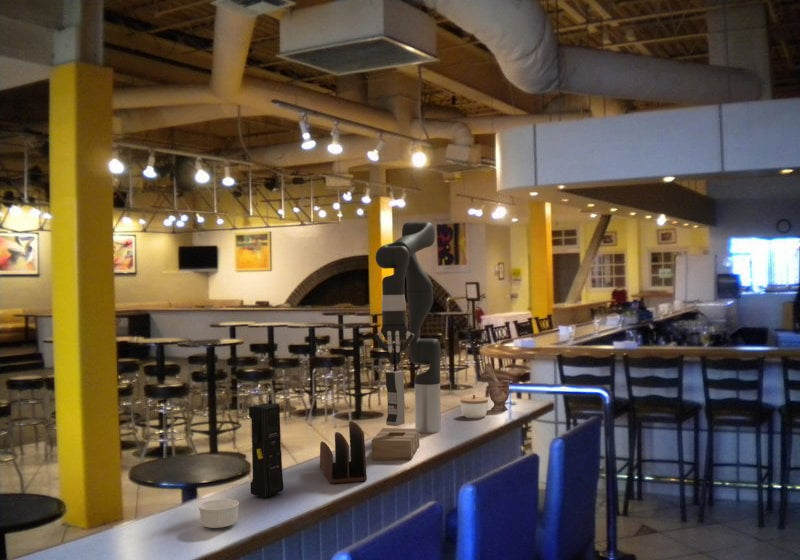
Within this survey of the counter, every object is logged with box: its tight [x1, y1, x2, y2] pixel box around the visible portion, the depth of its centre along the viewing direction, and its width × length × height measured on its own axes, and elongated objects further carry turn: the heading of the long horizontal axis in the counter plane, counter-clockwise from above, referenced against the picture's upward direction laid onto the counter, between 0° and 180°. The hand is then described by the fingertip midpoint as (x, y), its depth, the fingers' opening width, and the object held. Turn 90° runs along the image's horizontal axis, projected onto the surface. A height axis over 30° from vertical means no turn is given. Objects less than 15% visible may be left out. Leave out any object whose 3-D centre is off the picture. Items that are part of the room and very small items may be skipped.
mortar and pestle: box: [484, 362, 510, 412], centre depth 321 cm, size 12×9×20 cm
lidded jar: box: [460, 394, 489, 419], centre depth 306 cm, size 11×11×9 cm
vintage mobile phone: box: [384, 344, 406, 427], centre depth 245 cm, size 4×5×25 cm
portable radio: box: [248, 393, 284, 498], centre depth 199 cm, size 8×6×25 cm
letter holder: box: [319, 420, 368, 485], centre depth 219 cm, size 10×20×14 cm, turn 14°
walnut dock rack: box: [371, 427, 420, 461], centre depth 245 cm, size 20×12×6 cm, turn 171°
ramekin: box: [198, 498, 240, 529], centre depth 175 cm, size 9×9×4 cm
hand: (394, 364), depth 245 cm, fingers closed
